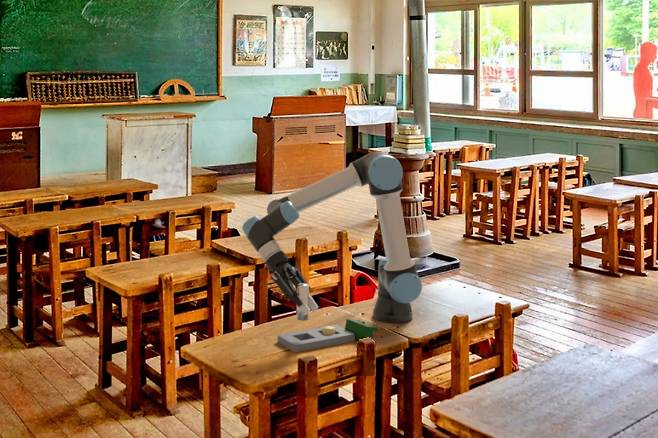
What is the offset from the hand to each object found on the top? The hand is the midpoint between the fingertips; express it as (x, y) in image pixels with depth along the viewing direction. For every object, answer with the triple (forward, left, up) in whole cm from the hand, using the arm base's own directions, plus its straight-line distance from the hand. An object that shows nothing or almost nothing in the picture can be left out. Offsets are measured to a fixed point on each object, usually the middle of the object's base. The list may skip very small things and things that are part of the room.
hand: (311, 311), depth 277 cm
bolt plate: (-4, -3, -12) cm, 13 cm away
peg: (+2, -3, -3) cm, 5 cm away
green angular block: (-20, +1, -13) cm, 24 cm away
